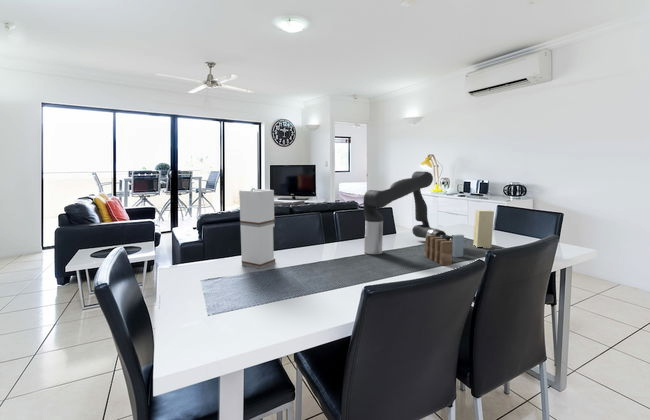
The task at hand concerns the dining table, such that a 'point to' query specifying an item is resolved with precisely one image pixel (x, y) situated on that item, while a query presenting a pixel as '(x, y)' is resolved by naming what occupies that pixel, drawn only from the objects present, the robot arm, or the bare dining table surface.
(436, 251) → the walnut domino
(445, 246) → the walnut domino
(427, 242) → the walnut domino
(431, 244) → the walnut domino
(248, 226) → the white banded tower
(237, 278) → the dining table surface
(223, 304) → the dining table surface
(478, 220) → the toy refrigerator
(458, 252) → the slate domino
